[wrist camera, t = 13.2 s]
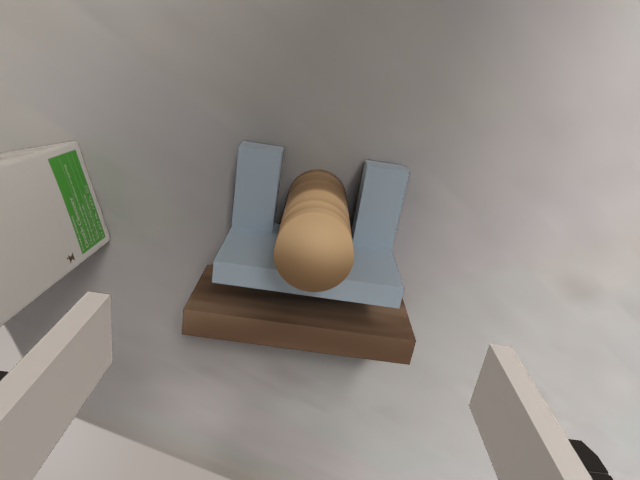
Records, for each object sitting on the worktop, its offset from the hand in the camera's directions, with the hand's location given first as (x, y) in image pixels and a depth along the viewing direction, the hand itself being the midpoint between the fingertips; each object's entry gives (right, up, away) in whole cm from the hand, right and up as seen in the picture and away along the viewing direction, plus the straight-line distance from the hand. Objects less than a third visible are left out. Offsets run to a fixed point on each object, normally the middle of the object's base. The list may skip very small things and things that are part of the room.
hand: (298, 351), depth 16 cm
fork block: (0, +5, +20) cm, 21 cm away
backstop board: (-1, 0, +22) cm, 22 cm away
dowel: (+1, +7, +19) cm, 21 cm away
